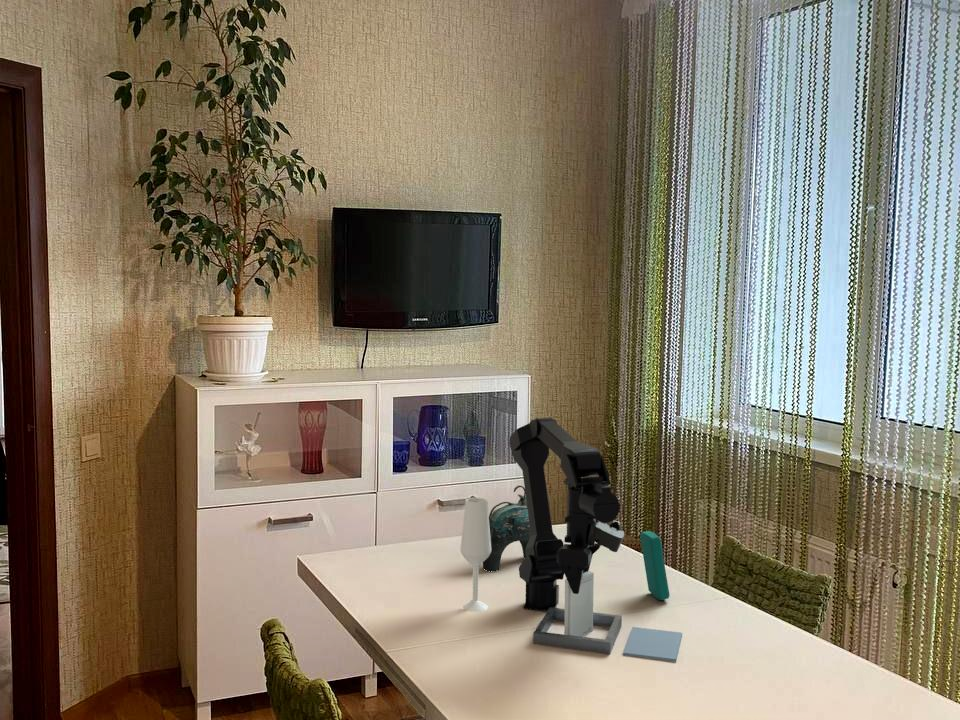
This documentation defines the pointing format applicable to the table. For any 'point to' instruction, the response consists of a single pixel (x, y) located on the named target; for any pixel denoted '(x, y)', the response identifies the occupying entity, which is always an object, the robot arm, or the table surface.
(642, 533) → the digital multimeter
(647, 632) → the mat
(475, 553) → the champagne flute
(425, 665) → the table surface
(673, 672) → the table surface
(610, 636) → the gray square frame
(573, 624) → the hard drive
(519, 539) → the green bronze animal figure
